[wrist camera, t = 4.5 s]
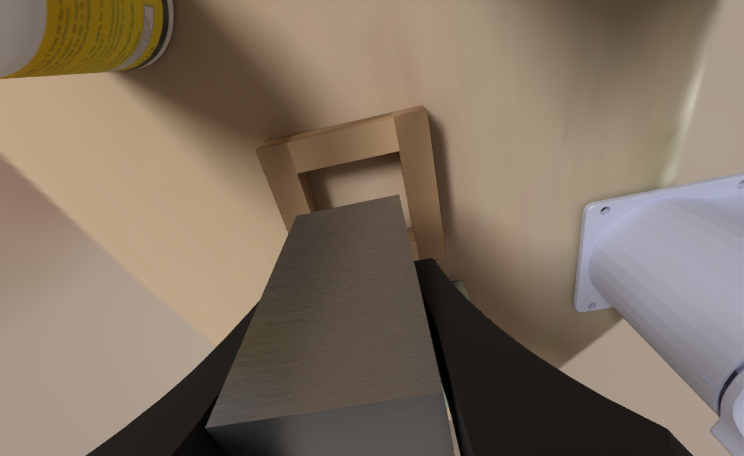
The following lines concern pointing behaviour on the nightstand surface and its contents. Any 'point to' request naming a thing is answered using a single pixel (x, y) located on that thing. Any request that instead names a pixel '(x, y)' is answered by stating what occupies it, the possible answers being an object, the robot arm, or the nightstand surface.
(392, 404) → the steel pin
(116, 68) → the supplement bottle
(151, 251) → the nightstand surface
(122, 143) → the nightstand surface
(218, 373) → the robot arm
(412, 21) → the nightstand surface
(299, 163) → the oak holder
